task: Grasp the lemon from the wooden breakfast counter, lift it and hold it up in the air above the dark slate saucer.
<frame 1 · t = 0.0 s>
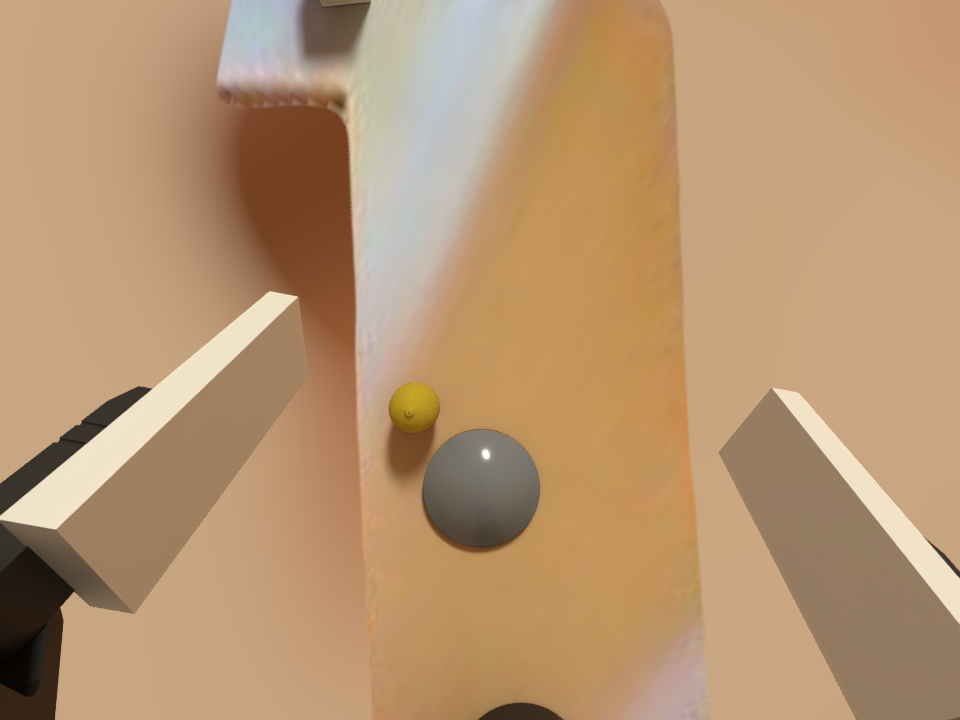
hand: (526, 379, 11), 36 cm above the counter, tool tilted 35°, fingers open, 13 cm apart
lemon: (420, 402, 47), on the counter
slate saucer: (481, 486, 47), on the counter
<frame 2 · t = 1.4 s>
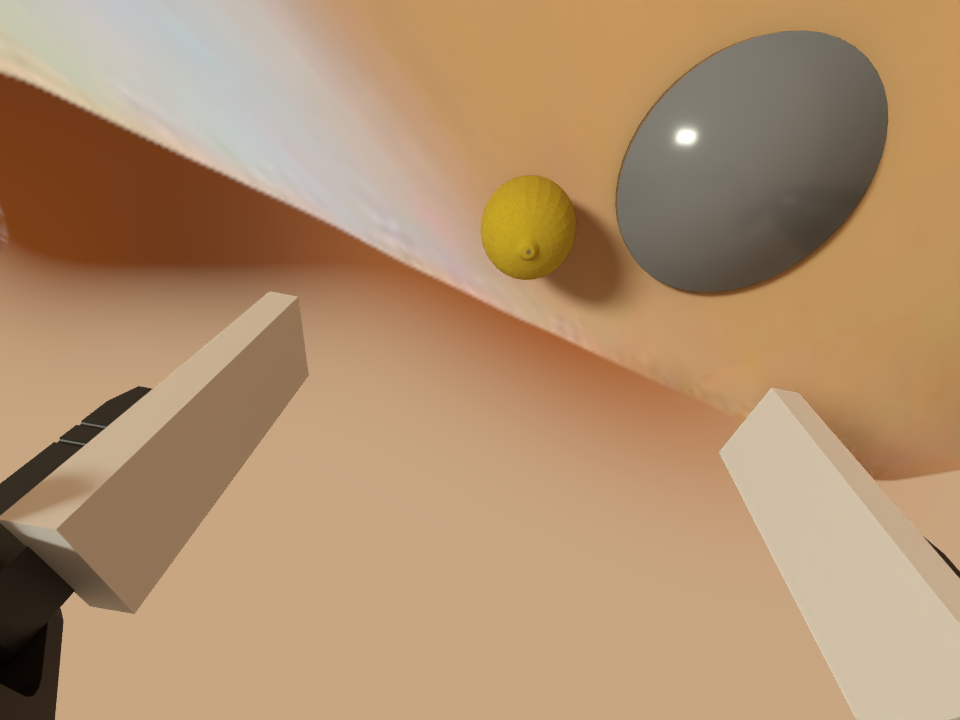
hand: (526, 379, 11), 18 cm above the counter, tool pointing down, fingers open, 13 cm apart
lemon: (527, 208, 26), on the counter
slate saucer: (734, 181, 24), on the counter
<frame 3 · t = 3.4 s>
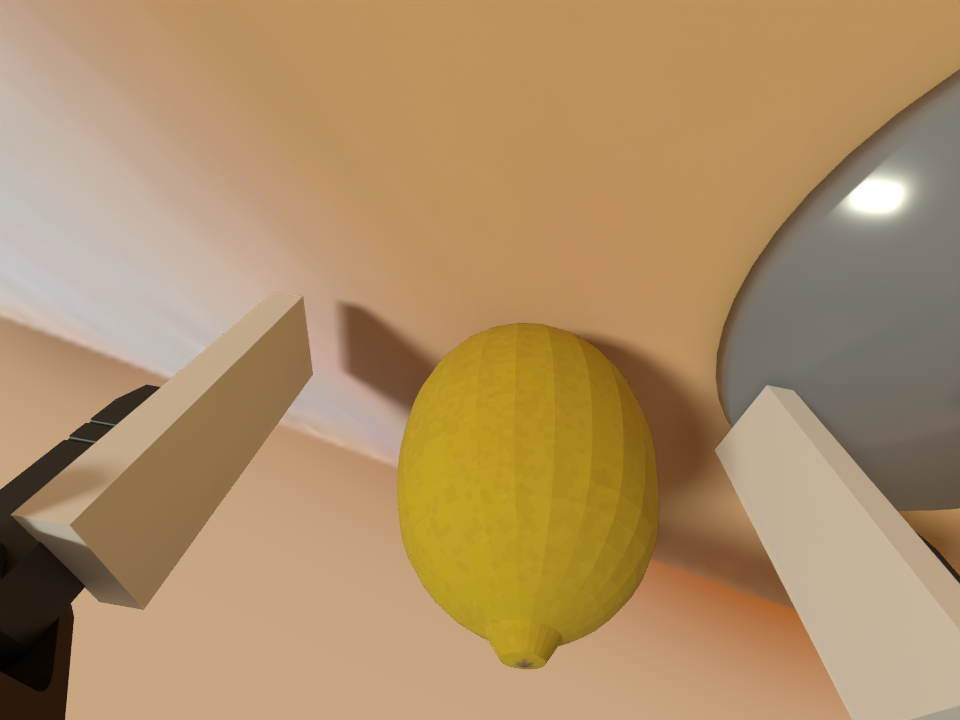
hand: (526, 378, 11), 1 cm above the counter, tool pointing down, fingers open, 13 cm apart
lemon: (523, 350, 12), on the counter
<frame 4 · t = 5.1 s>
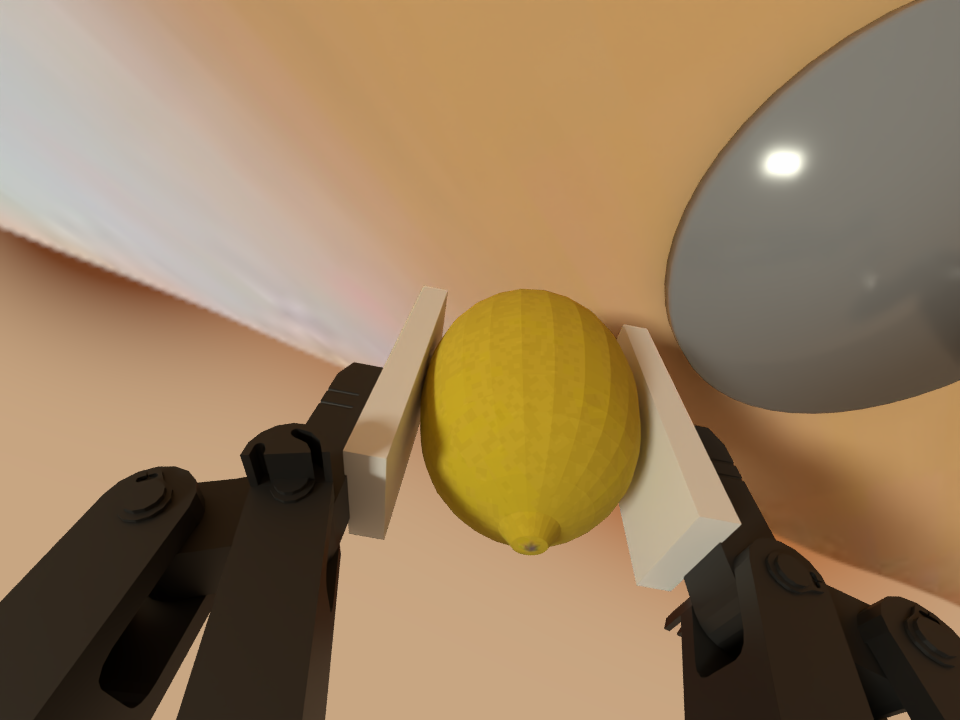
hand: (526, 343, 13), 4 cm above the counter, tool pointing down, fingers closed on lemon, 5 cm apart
lemon: (524, 321, 14), point 2 cm above the counter, touching gripper
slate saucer: (878, 248, 13), on the counter
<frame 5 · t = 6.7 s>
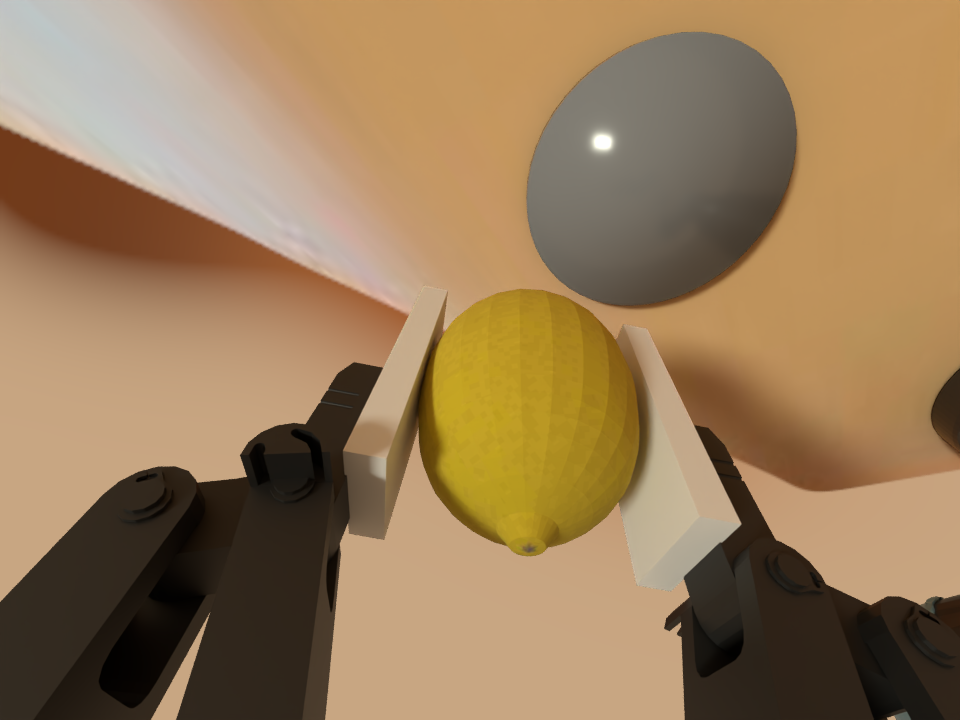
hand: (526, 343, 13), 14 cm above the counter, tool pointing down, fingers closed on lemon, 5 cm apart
lemon: (523, 321, 14), point 13 cm above the counter, touching gripper
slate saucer: (647, 190, 22), on the counter
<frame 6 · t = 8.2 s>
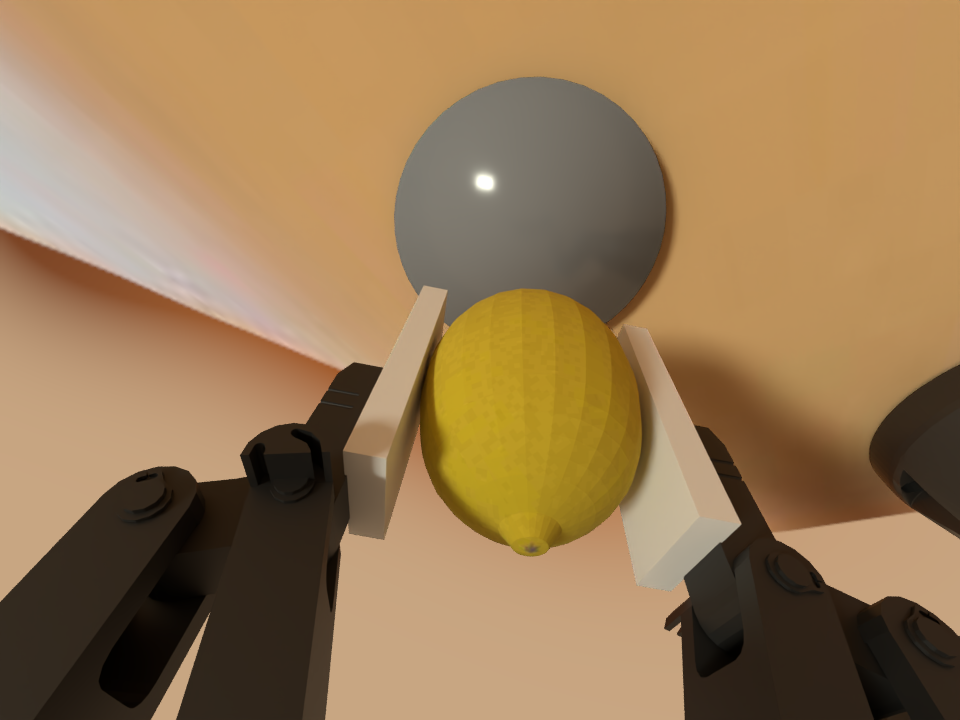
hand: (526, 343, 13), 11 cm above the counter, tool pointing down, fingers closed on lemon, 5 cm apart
lemon: (524, 320, 14), point 9 cm above the counter, touching gripper
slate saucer: (524, 234, 21), on the counter
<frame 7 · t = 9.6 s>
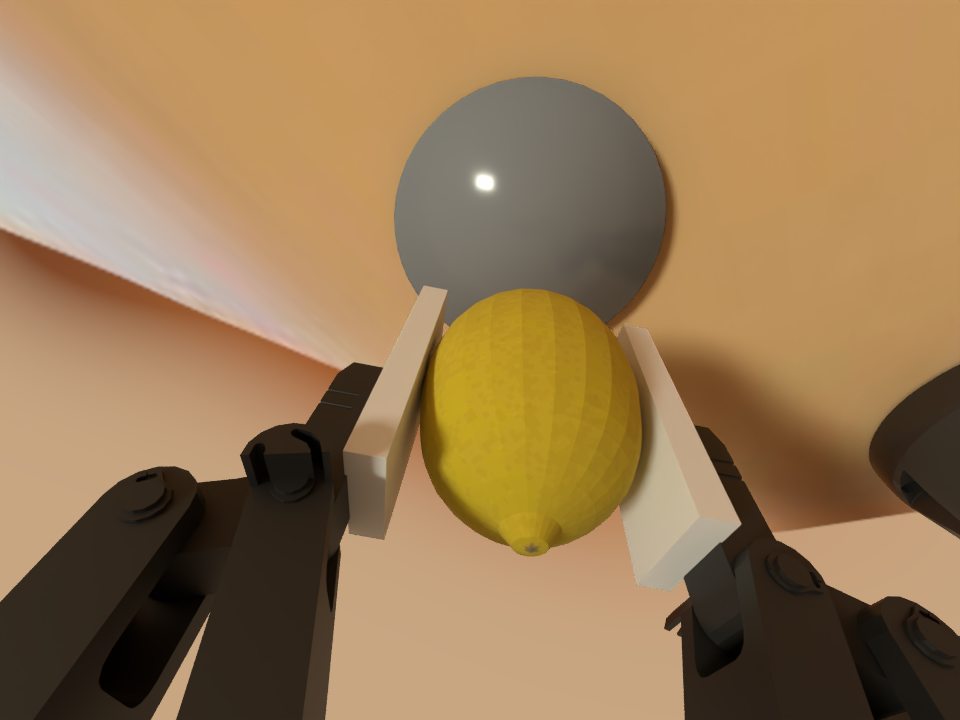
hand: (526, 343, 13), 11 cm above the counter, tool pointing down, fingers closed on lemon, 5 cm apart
lemon: (524, 320, 14), point 9 cm above the counter, touching gripper
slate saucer: (524, 234, 21), on the counter
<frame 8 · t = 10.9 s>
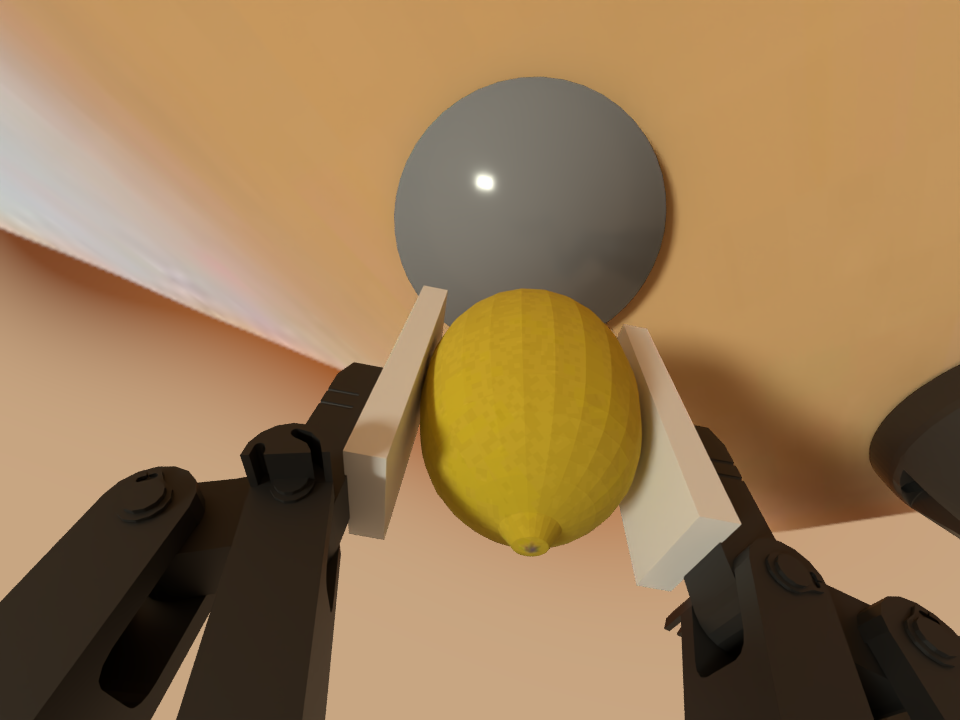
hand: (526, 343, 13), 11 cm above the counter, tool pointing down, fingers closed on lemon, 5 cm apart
lemon: (524, 320, 14), point 9 cm above the counter, touching gripper
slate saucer: (524, 234, 21), on the counter
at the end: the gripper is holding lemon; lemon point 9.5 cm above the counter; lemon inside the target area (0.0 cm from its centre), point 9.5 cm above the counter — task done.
